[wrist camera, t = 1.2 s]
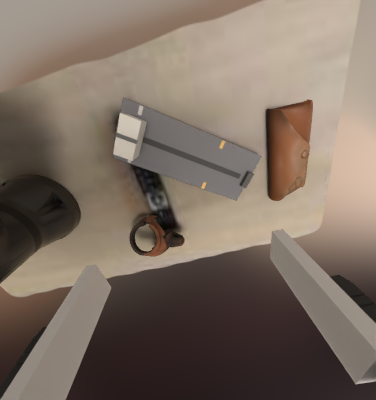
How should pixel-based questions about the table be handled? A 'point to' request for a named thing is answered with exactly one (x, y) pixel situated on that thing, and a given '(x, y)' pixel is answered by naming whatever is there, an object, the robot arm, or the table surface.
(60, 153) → the table surface
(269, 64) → the table surface
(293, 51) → the table surface
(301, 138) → the sunglasses case
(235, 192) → the grey slotted slider track
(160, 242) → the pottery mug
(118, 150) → the fader
